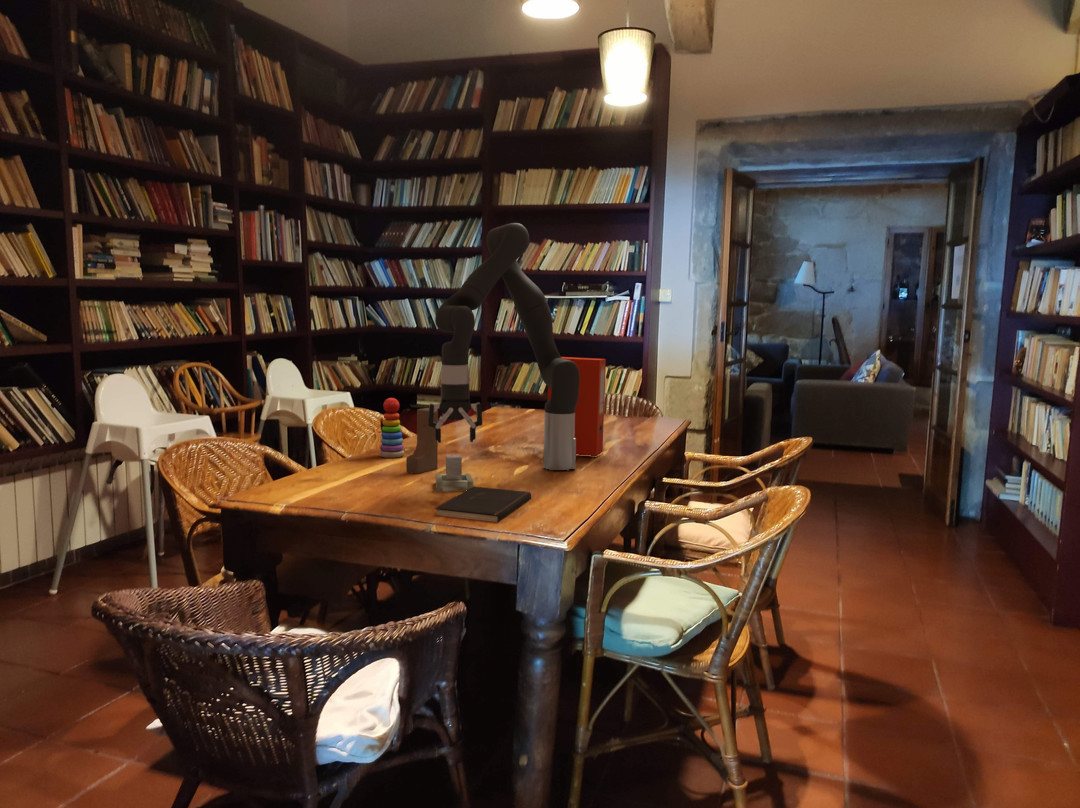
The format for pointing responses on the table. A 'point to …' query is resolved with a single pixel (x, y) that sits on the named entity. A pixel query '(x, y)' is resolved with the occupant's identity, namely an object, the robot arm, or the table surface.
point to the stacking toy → (391, 431)
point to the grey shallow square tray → (453, 483)
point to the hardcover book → (484, 504)
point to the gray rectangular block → (453, 467)
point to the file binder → (589, 405)
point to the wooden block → (424, 445)
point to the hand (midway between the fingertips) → (455, 441)
